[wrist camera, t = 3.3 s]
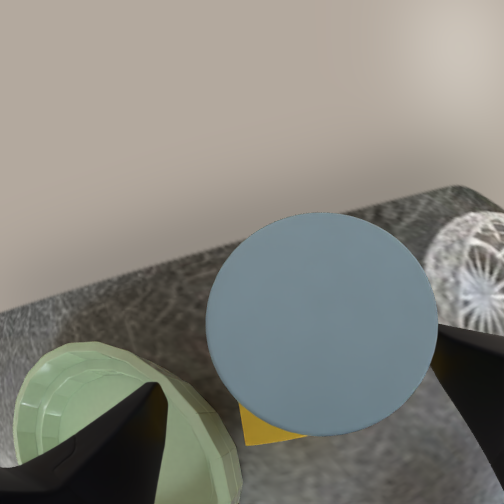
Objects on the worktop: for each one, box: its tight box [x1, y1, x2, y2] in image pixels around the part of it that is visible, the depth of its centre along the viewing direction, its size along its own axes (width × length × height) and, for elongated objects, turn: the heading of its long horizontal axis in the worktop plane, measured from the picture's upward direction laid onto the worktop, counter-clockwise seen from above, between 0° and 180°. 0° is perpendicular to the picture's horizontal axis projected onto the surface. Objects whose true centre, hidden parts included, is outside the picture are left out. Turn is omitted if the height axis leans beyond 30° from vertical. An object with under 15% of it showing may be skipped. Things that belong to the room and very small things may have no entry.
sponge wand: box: [206, 213, 438, 446], centre depth 9 cm, size 5×5×14 cm
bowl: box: [13, 341, 243, 504], centre depth 10 cm, size 15×15×4 cm
